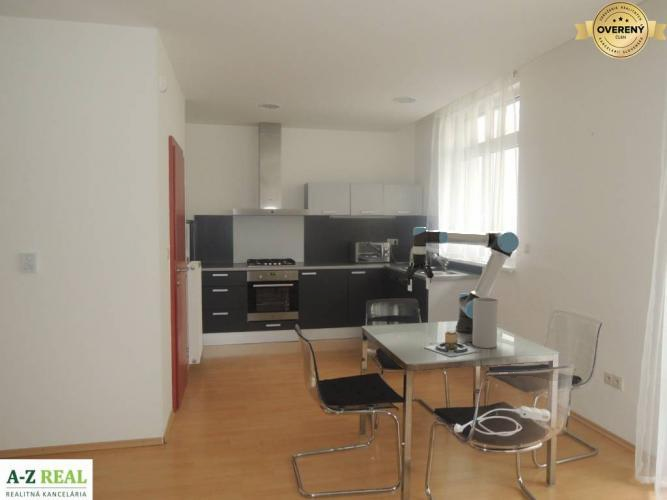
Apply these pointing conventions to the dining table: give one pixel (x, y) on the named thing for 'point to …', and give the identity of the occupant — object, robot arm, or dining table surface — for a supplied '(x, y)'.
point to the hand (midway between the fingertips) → (419, 290)
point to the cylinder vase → (485, 322)
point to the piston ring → (461, 350)
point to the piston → (451, 340)
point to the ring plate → (451, 351)
